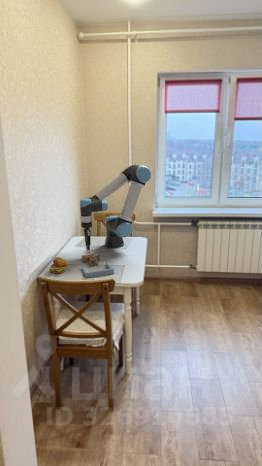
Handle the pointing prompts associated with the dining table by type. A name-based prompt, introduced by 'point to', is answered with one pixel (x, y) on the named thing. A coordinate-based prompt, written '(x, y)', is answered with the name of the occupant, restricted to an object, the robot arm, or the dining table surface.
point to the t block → (91, 259)
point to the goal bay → (100, 272)
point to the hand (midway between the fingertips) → (88, 253)
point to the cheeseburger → (58, 265)
